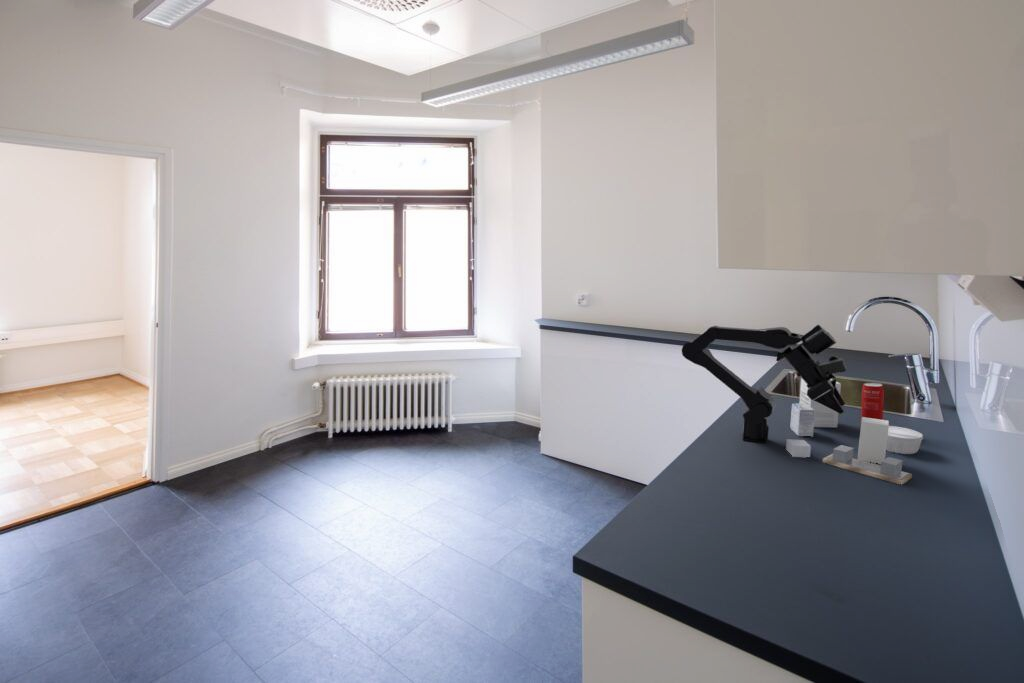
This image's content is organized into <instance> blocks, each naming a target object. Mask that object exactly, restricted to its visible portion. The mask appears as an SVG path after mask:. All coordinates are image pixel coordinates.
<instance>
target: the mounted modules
mask: <svg viewBox="0 0 1024 683" xmlns="http://www.w3.org/2000/svg"><path fill="white" fill-rule="evenodd" d="M854 449H855V448H854V447H851V446H847V445H843V444H840V445H837V447H834V448H833V451H832V454H833V459H832V460H836V461H840V462H843V463H846V462H847V461H849V460H851V459H853V456H854ZM903 461H904V460H903V459H898V458H895V457H890V456H888V457H885V459H884V460H883V461H881V464H880V466H881V469H880V473H883V474H886V475H890V476H893V477H894V476H896V475H897V474H899V473H900V472H901V471H903V470H902V469H903V468H902V467H903Z"/></svg>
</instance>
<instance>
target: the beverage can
mask: <svg viewBox="0 0 1024 683" xmlns="http://www.w3.org/2000/svg"><path fill="white" fill-rule="evenodd" d="M861 389H862V390H861V412H860V414H861V415H860V417H861V418H860V422H861V421H862V417H866V418H873V419H880V420H884V397H885V396H884V392H885V389H884V386H883V384H882V383H880V382H879V383H877V382H864V383H863V385H862V387H861Z"/></svg>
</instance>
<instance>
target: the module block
mask: <svg viewBox="0 0 1024 683" xmlns="http://www.w3.org/2000/svg"><path fill="white" fill-rule="evenodd" d="M889 426H890V423H889V420H888V419H887V420H886V419H883V420H880V419H873V418H866V417H862V421H861V420H860V430H859V431H860V432H859V442H858V451H857V452H858V453H857V459H858V460H862V461H865V462H869V463H870V462H871V463H873V464H876V463H878V464H877V465H881V461H883V460H884V459H886V452H887V451H886V446H887V437H888V428H889Z"/></svg>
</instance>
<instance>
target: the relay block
mask: <svg viewBox="0 0 1024 683" xmlns="http://www.w3.org/2000/svg"><path fill="white" fill-rule="evenodd" d="M811 449H812V446H811V444H810V443H808V442H807V441H806V440H804V439H790V438H789V439H788V438H787V439H786V445H785V451H786V450H787V451H788V452H789V453H790V454H791V455H792V456H791V455H790V454H789V453H788V452H787V451H786V452H787V453H788V454H789V455H790V456H791V457H792V458H806V457H810V458H811Z"/></svg>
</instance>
